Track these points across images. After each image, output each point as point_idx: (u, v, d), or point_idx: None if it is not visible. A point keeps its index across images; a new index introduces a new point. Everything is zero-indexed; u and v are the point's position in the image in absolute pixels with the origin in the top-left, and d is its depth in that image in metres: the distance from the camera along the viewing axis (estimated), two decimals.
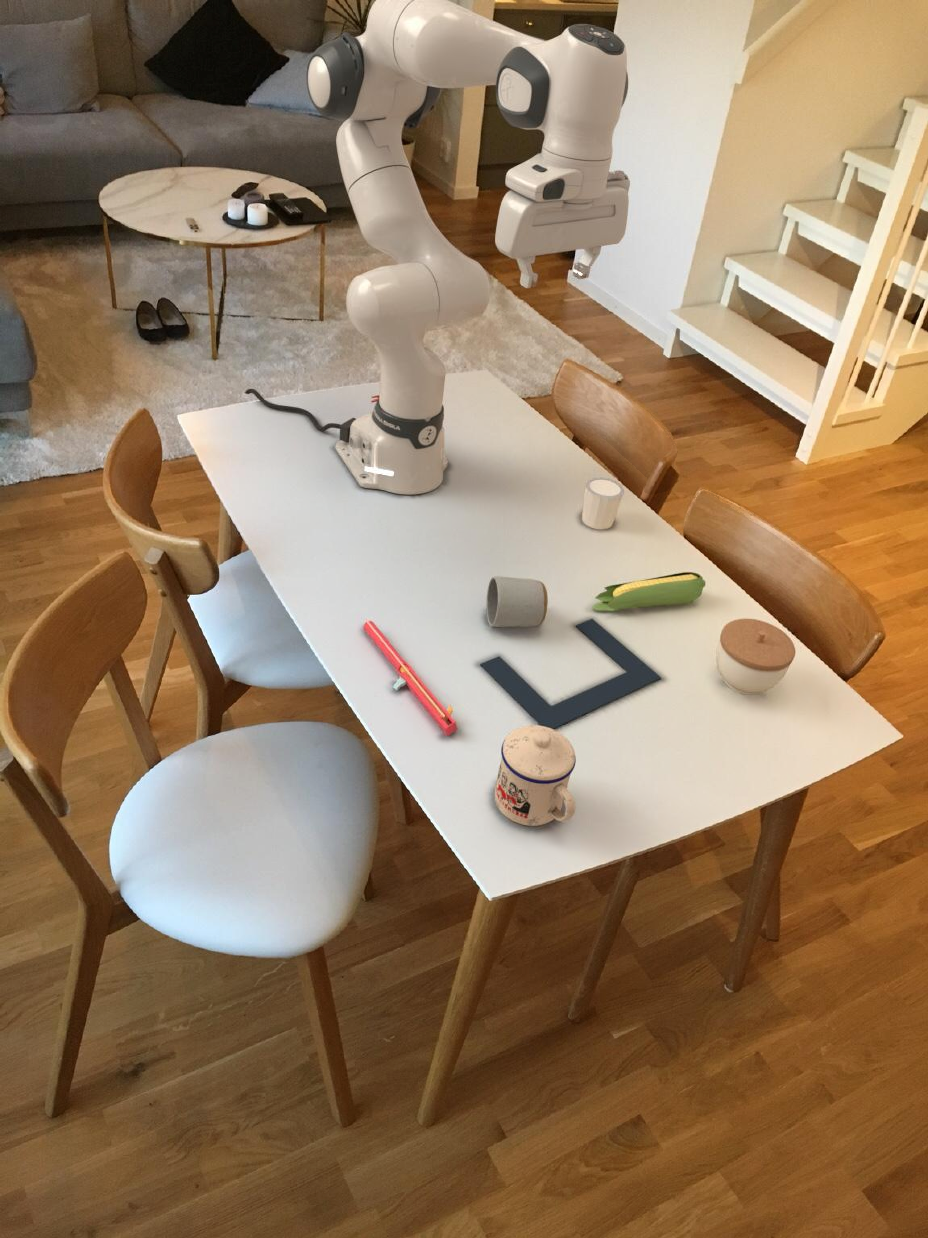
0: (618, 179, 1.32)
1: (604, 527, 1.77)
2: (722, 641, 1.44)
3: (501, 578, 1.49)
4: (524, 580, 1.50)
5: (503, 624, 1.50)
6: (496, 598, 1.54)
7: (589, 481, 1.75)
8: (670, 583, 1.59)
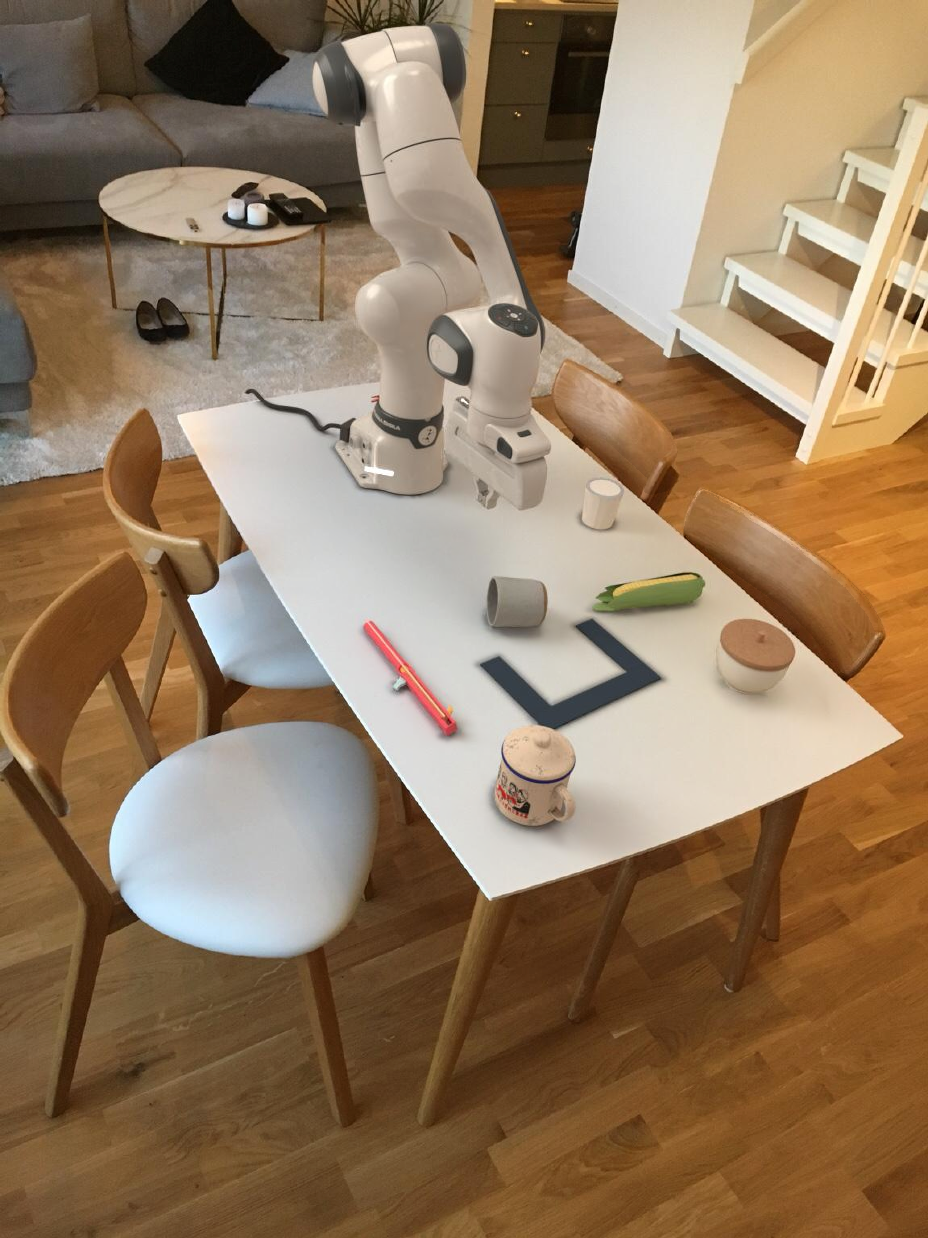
0: None
1: (604, 527, 1.77)
2: (722, 641, 1.44)
3: (501, 578, 1.49)
4: (524, 580, 1.50)
5: (503, 624, 1.50)
6: (496, 598, 1.54)
7: (589, 481, 1.75)
8: (670, 583, 1.59)
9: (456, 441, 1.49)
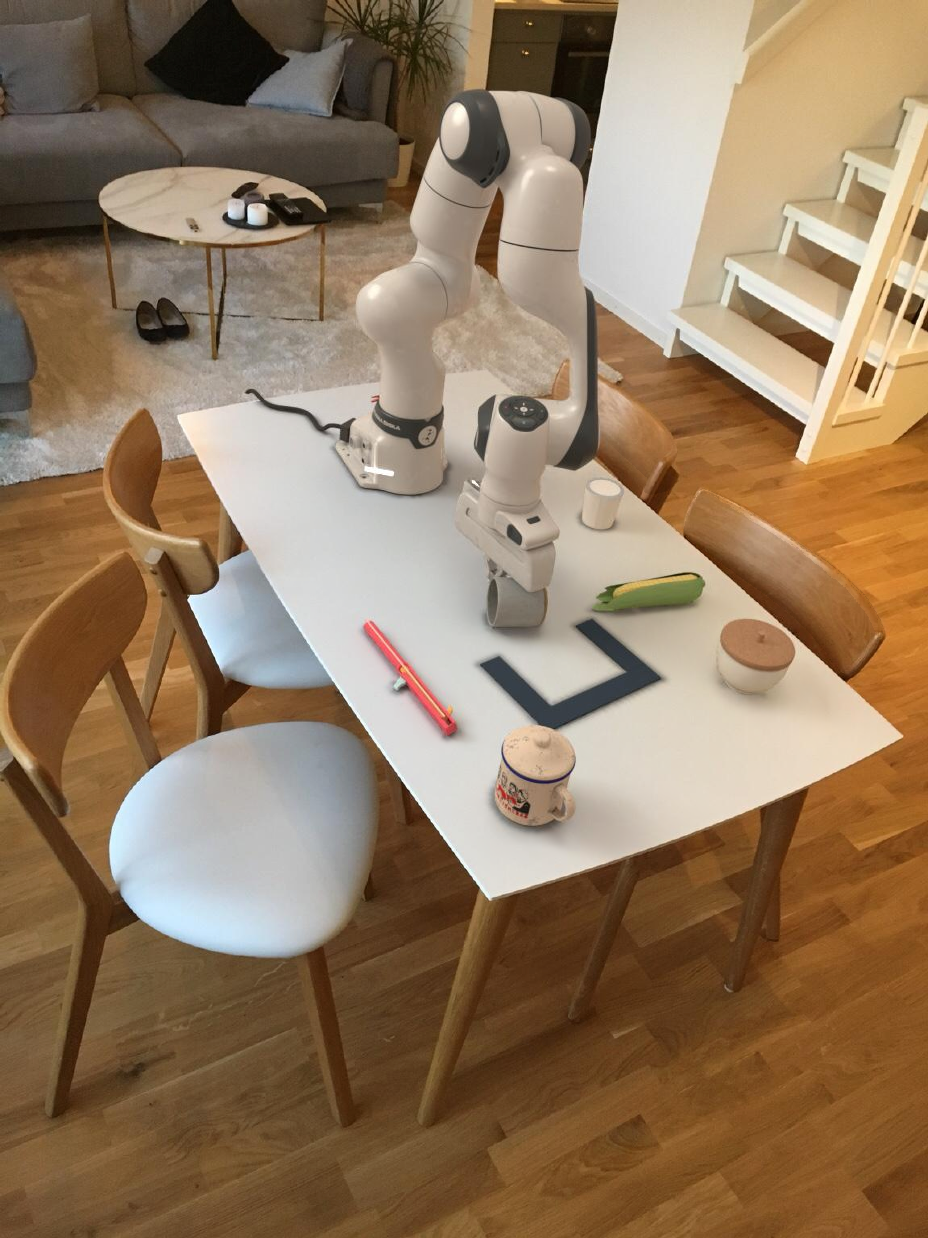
0: None
1: (604, 527, 1.77)
2: (722, 641, 1.44)
3: (501, 578, 1.49)
4: None
5: (503, 624, 1.50)
6: (496, 598, 1.54)
7: (589, 481, 1.75)
8: (670, 583, 1.59)
9: (467, 521, 1.53)
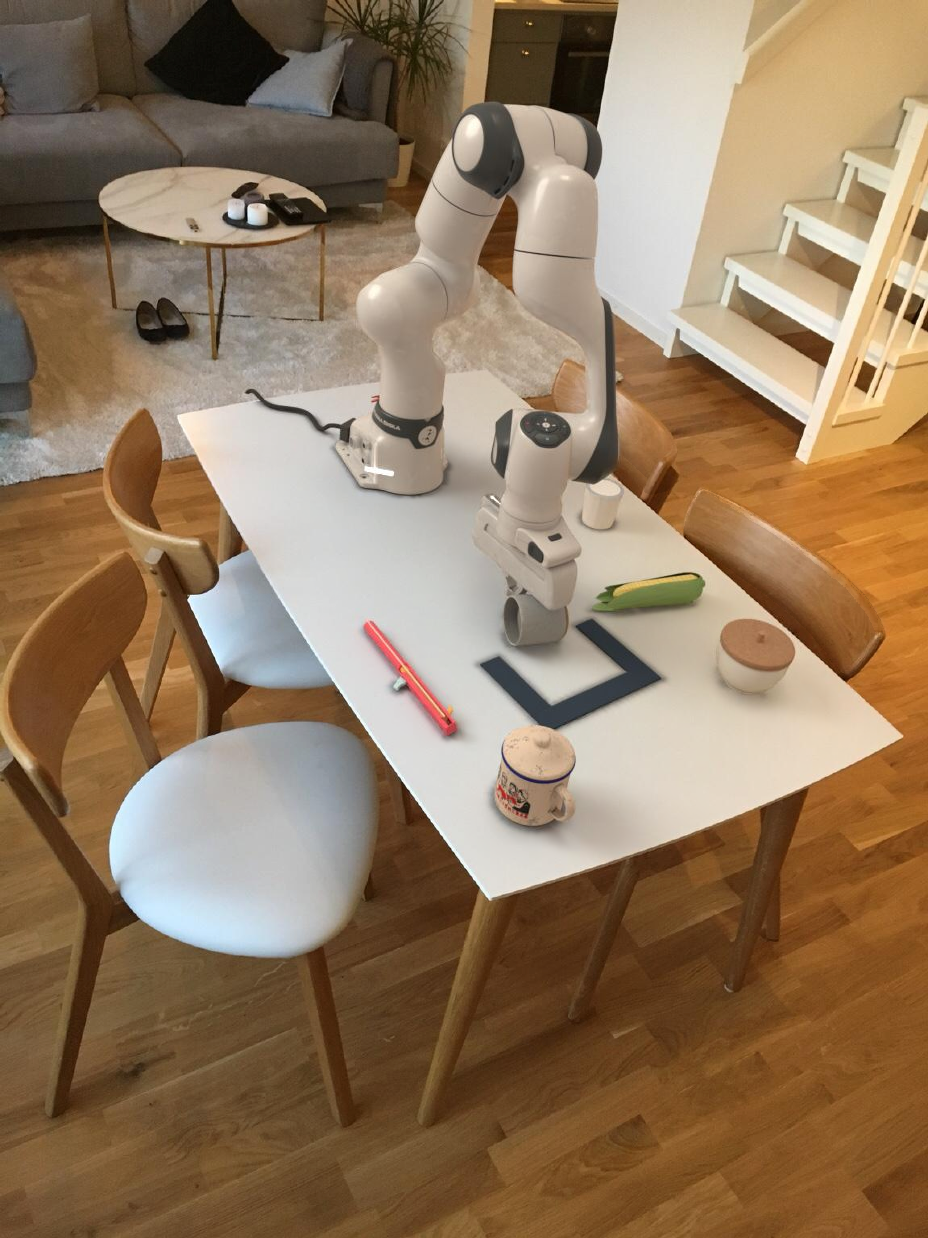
0: None
1: (604, 527, 1.77)
2: (722, 641, 1.44)
3: (520, 596, 1.47)
4: None
5: (526, 643, 1.47)
6: (512, 616, 1.52)
7: None
8: (670, 583, 1.59)
9: (485, 537, 1.51)
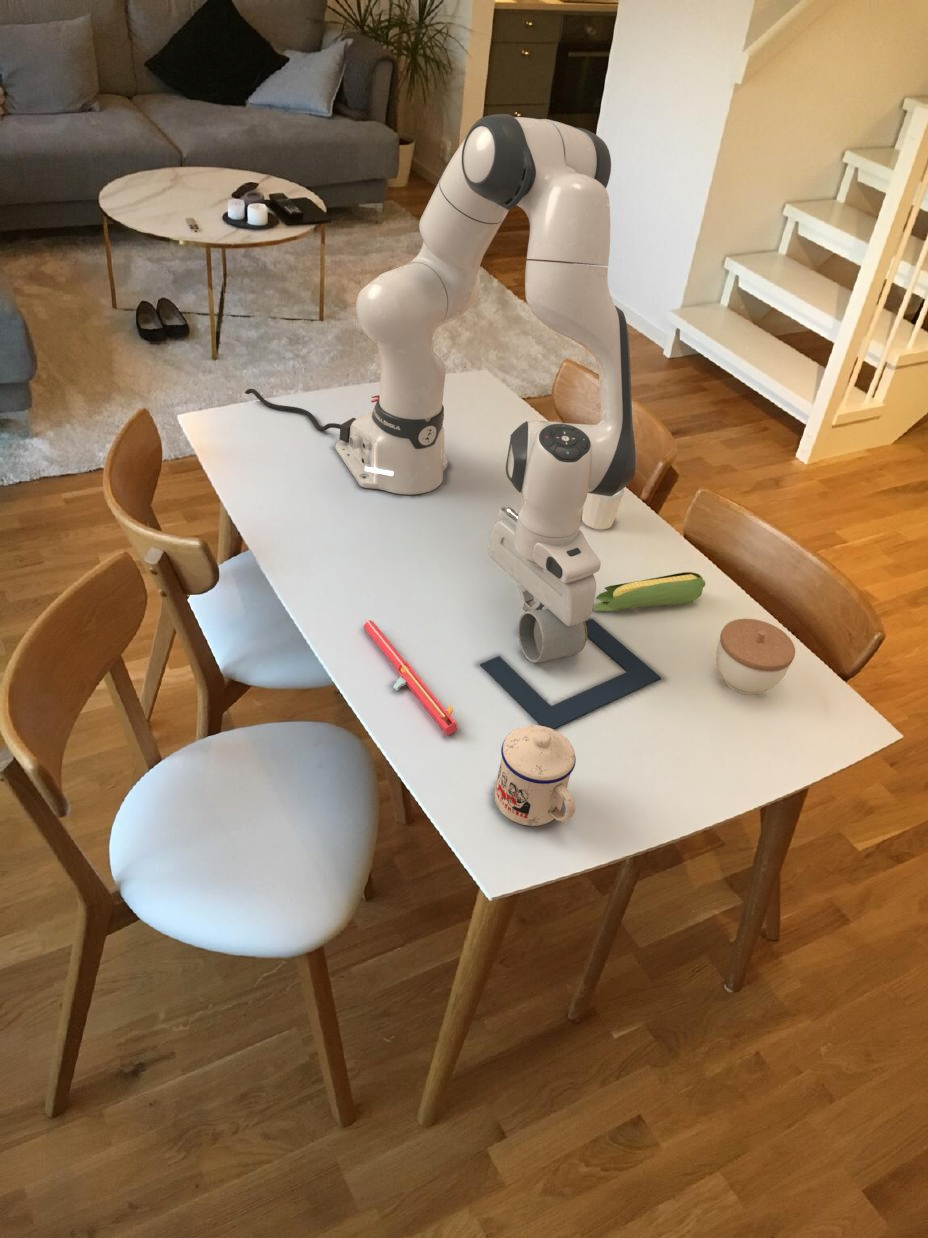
0: None
1: (604, 527, 1.77)
2: (722, 641, 1.44)
3: (538, 612, 1.44)
4: None
5: (547, 659, 1.45)
6: (527, 632, 1.49)
7: None
8: (670, 583, 1.59)
9: (502, 551, 1.48)
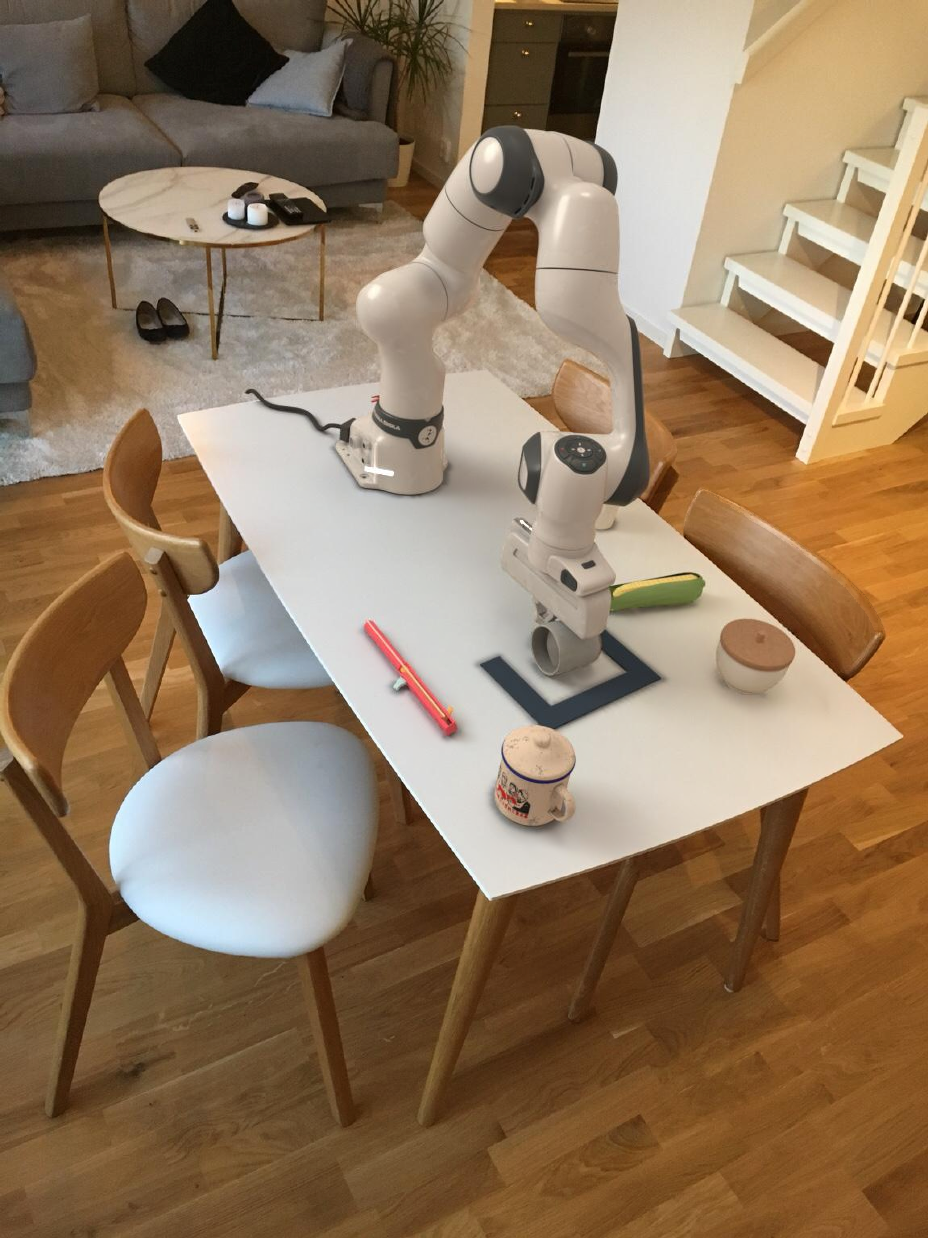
0: None
1: (604, 527, 1.77)
2: (722, 641, 1.44)
3: (552, 624, 1.42)
4: None
5: (563, 671, 1.43)
6: (540, 644, 1.47)
7: None
8: (670, 583, 1.59)
9: (514, 562, 1.46)
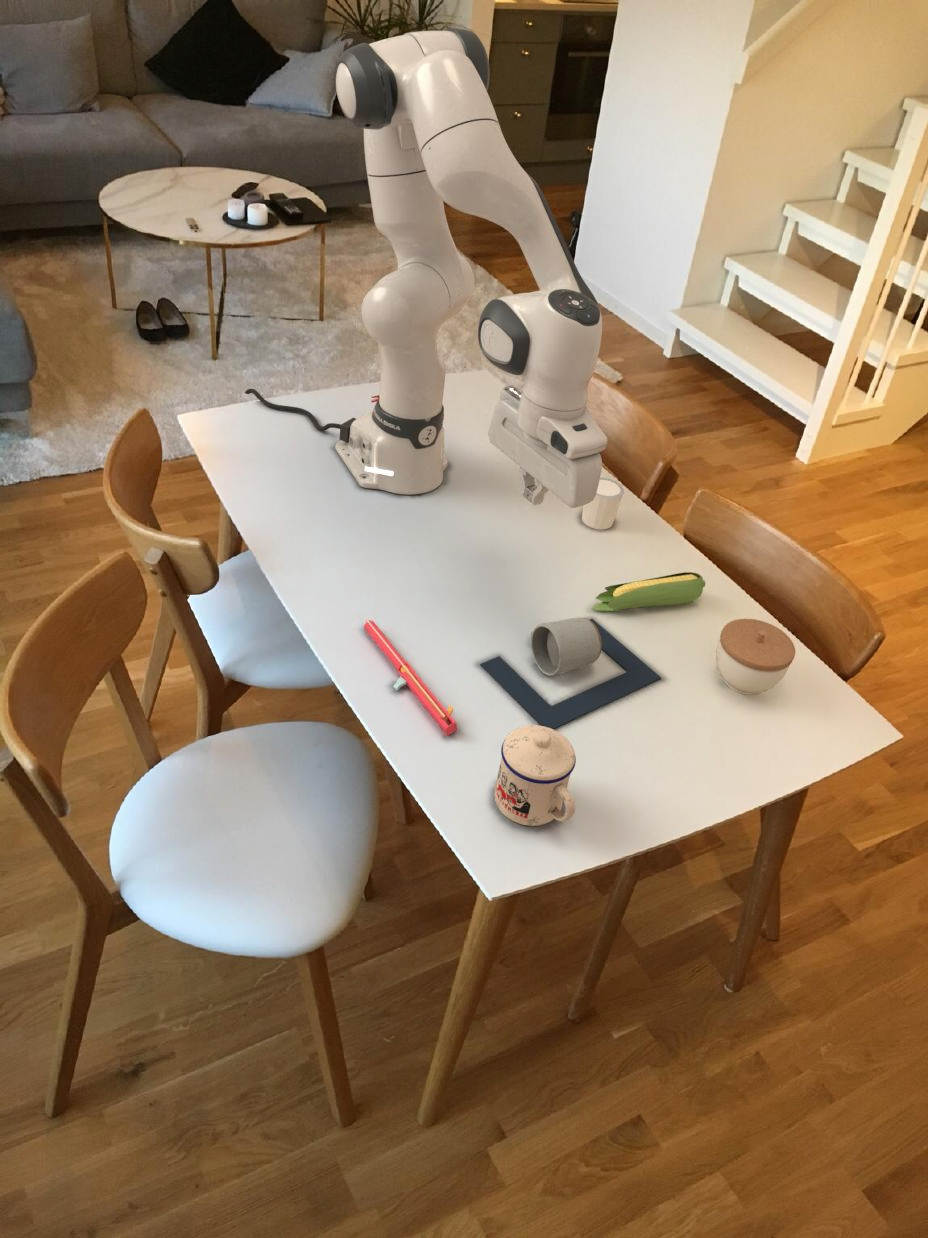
0: None
1: (604, 527, 1.77)
2: (722, 641, 1.44)
3: (552, 625, 1.42)
4: (572, 621, 1.44)
5: (563, 671, 1.43)
6: (540, 644, 1.47)
7: None
8: (670, 583, 1.59)
9: (503, 433, 1.42)
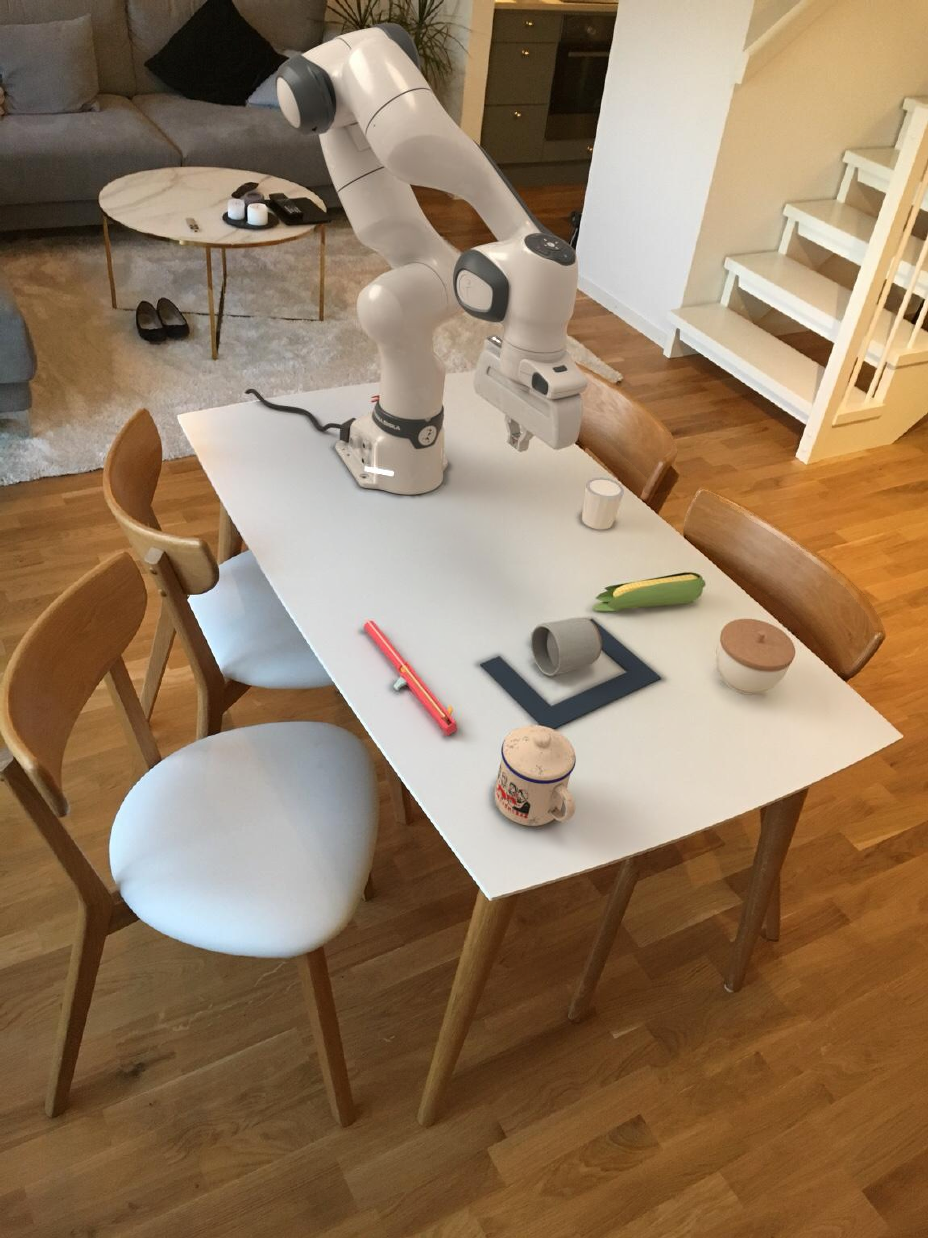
0: None
1: (604, 527, 1.77)
2: (722, 641, 1.44)
3: (552, 625, 1.42)
4: (572, 621, 1.44)
5: (563, 671, 1.43)
6: (540, 644, 1.47)
7: (589, 481, 1.75)
8: (670, 583, 1.59)
9: (487, 382, 1.45)
